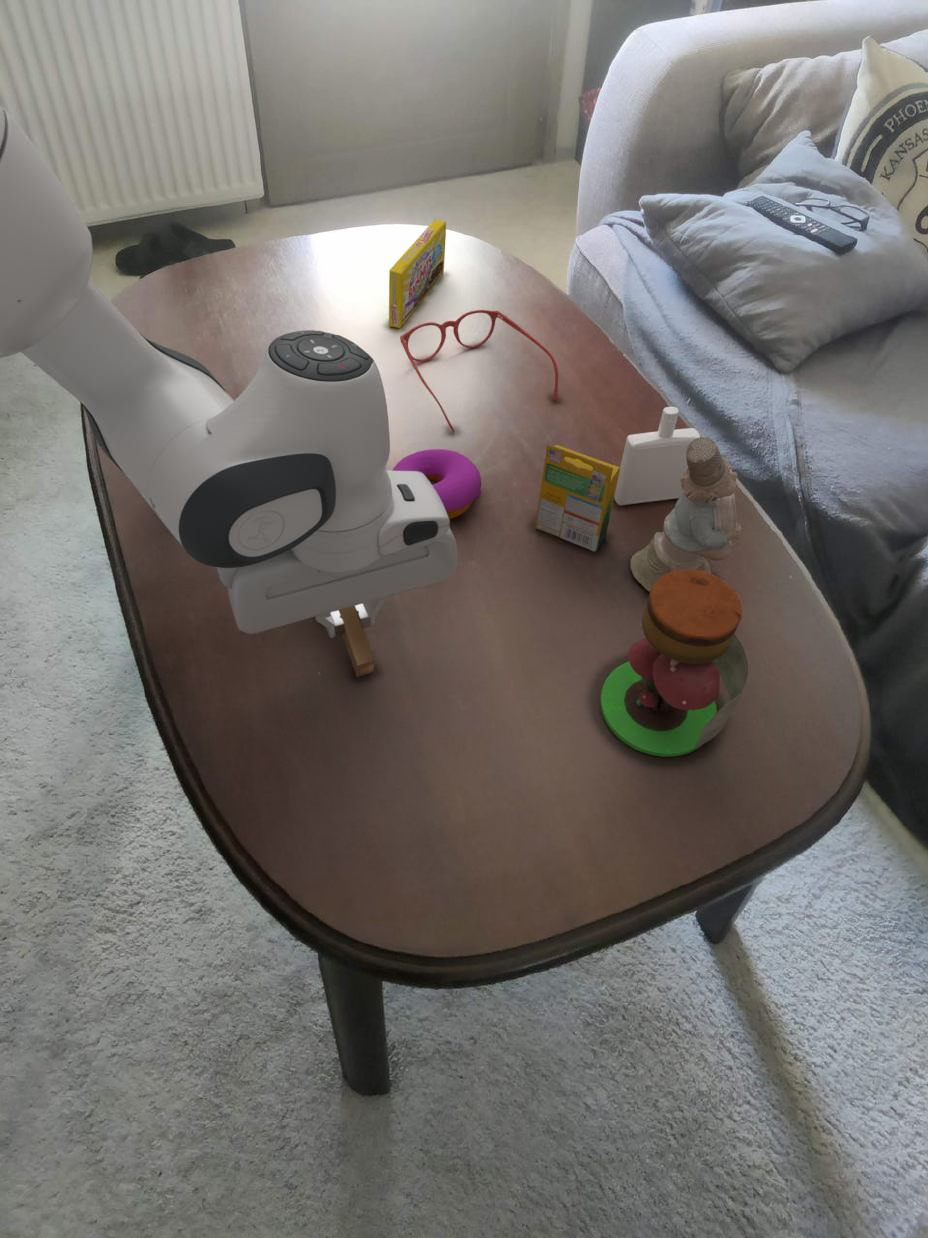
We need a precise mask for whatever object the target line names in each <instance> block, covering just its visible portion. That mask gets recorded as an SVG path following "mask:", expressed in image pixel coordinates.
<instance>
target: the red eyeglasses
mask: <svg viewBox="0 0 928 1238" xmlns="http://www.w3.org/2000/svg"><path fill="white" fill-rule="evenodd" d="M473 314H486V315H488V316H489V318H490V320H491V325H490V329H489V332H488V333H487V335H486V337H485V338H484V339H483V340H482V341H481V342H479V343H477V344H474V345H466V344H464V343H463V342H462V341H461V339H460V334H459V326H460V323H461V322H462V320H463V319H464V318H466V317H468V316H470V315H473ZM497 318H498V319H500V320H501V321H503V322H504V323H505V324H507V325H509V326H510V327H511V328H513V329H514V330H516V331H518V332H519V333H520V334H522V335H523V336H524V337H526V338H528V340H530V341H531V342H533V343H534V344H535V345H536V346H538V348H540V349H541V350H542V351H543V352H544V353H546V355H547V356H548V357H549V358H550V360H551V362H552V365H553V369H554V387H553V388H554V389H553V396H552V397H553V398H552V399H553V401H554V402H556V401H557V399H558V389H559V368H558V365H557V362H556V359H555V358H554V356H553V354H552V353H551V352H550V351H549V350H548V349H547V348H546V347H545V346H544V345H543V344H542V343H540V342H539V341H538V340H537V339H536V338H534V337H533V336H532V335H530V333H528V332H527V331H525V330H524V328H522V327H521V326H520V325H519V324H517V323H516V322H515V321H513V320H512V319H511V318H509V317H508V316H506V315H505V314H503V313H502V312H501V311H499V310H489V309H476V310H470V311H468V312H465V313H463V314H461V316H459V317H458V318H457V319H456V320H447V321H444V322H443V323H441V324H440V323H437V322H424V323H421V324H419V325H416V326H415V327H413V328H411V329H409V330H408V331H407V332H405V333H404V334H402V335H400V337H399V339H400V343H401V346H402V347H403V349H404V351H405V354H406V356H407V358H408V359H409V361H410V363H411V365H412V367H413V369H414V370H415V372H416V374H417V376H418V378H419V379H420V382H422V384H423V385H424V387H425V388H426V389H427V390H428V392H429V393H430V395H432V397H433V398H434V400H435V401H436V403H437V405H438V406H439V408H440V410H441V412H442V414H443V416H444V418H445V420H446V423H447V425H448V426H449V428H450V430H451V431H452V432H453V433H455V429H454V428H453V426H452V424H451V422H450V420H449V418H448V416H447V414H446V412H445V409H444V408H443V406H442V405H441V403H440V401H439V400H438V398H437V397H436V395H435V394H434V393H433V391H432V389H431V388H430V386H429V385H428V383H427V382H426V380H425V379H424V376H422V374H421V372H420V370H419V368H418V367H417V364H416V363H415V362H418V363H425V362H428V361H430V360H432V359H433V358H435V357H436V356H437V355H438V353H439V352H440V351H441V349H442V348H443V346H444V344H445V341H446V339H447V328H448V327H452V331H453V335H454V337H455V339H456V341H457V343H459V345H460V346H462V347H465V348H466V349H476V348H478V347H481V346H483V345H484V344H485V343H486V342H488V340H489V339H490V338H491V336H492V335H493V332H494V329H495V326H496V320H497ZM427 326H434V327H436V328H438V329H439V331H440V334H441V335H440V337H441V338H440V342H439V344H438V347H437V348H436V349H435V351H434V352H433V353H432V354H431V355H430V356H428V357H426V358H421V359H420V358H416V357H414V356H413V355H412V353H411V351H410V348H409V342H410V341H409V340H410V337H411V336H412V335H413V333H414V332H415V331H417V330H419V329H421V328H423V327H427Z"/></svg>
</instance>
